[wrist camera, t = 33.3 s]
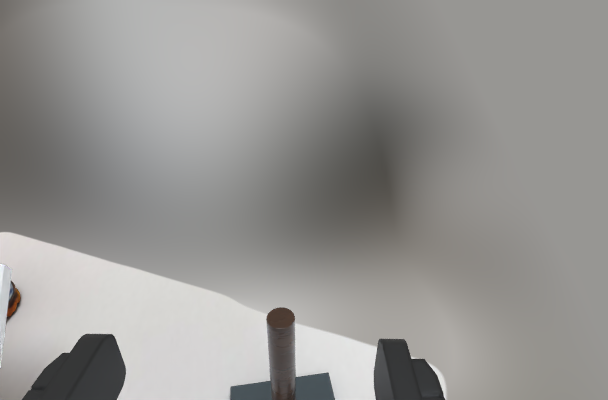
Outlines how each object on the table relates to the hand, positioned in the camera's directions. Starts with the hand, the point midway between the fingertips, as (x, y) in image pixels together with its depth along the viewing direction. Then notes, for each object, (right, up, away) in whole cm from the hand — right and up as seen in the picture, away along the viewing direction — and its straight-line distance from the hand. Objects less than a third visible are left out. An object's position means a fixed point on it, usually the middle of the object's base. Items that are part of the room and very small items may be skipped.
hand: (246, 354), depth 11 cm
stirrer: (0, -16, +21) cm, 27 cm away
